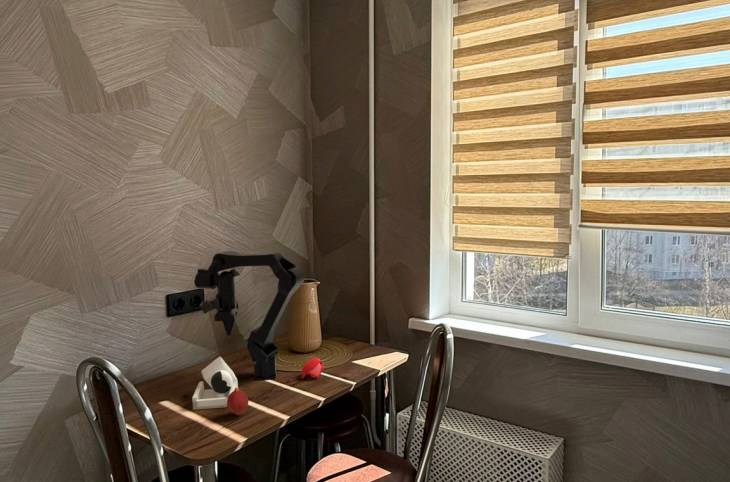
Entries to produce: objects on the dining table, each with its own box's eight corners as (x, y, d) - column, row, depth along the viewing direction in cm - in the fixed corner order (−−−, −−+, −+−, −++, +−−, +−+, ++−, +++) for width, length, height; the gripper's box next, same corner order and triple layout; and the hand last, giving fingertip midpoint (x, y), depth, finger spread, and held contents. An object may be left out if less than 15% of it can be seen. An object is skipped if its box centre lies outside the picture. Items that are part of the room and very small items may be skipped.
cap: (322, 362, 192) (306, 354, 191) (327, 361, 187) (311, 353, 185) (312, 384, 189) (296, 377, 188) (317, 384, 184) (301, 376, 182)
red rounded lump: (229, 411, 162) (227, 384, 161) (250, 410, 162) (248, 382, 161) (226, 420, 156) (224, 391, 155) (247, 418, 157) (246, 390, 156)
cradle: (238, 389, 178) (237, 378, 178) (233, 406, 165) (233, 394, 165) (200, 392, 177) (199, 381, 176) (193, 409, 164) (192, 398, 163)
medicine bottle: (215, 387, 179) (220, 401, 168) (200, 370, 177) (205, 383, 166) (233, 372, 181) (240, 384, 169) (219, 355, 178) (225, 367, 167)
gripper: (205, 285, 199) (208, 329, 201) (196, 296, 180) (199, 345, 182) (238, 283, 200) (240, 327, 202) (232, 294, 182) (235, 342, 183)
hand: (228, 335), depth 192 cm, fingers closed
